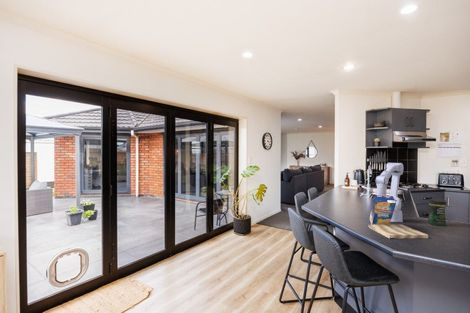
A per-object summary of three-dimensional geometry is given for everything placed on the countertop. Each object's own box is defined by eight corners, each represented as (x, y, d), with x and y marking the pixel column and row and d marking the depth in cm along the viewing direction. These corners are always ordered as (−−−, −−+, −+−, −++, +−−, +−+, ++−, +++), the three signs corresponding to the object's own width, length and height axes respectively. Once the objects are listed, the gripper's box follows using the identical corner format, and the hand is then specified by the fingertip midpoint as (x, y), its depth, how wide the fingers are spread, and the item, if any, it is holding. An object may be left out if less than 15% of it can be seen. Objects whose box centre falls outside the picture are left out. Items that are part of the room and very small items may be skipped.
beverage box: (389, 226, 168) (396, 203, 156) (371, 225, 170) (377, 202, 159) (386, 219, 173) (392, 196, 162) (369, 218, 176) (374, 195, 164)
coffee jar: (432, 225, 171) (433, 199, 171) (426, 222, 179) (426, 197, 179) (448, 226, 169) (448, 200, 169) (440, 223, 177) (441, 198, 177)
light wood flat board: (402, 227, 166) (402, 224, 166) (428, 238, 145) (428, 235, 145) (368, 227, 165) (368, 224, 165) (389, 238, 144) (389, 235, 144)
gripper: (369, 191, 177) (369, 209, 177) (382, 194, 162) (382, 214, 163) (379, 191, 177) (379, 209, 177) (393, 194, 163) (392, 214, 163)
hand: (381, 212), depth 170 cm, fingers closed
